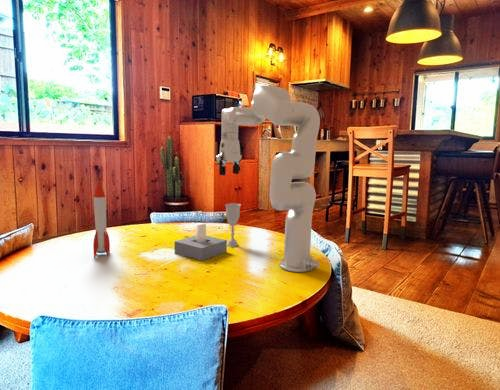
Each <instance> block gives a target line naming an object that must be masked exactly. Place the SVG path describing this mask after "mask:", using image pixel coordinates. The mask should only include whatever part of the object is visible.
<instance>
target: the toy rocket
mask: <svg viewBox="0 0 500 390" xmlns="http://www.w3.org/2000/svg"><path fill="white" fill-rule="evenodd" d="M93 212H94V224H95V225H94V226H95V234H94V238H93V245H92V246H93V258H95V257H96V256H97V254H106V256H107V257H109V253H110V252H111V250H110V249H111V247H110V245H111V243H110V242H111V241H110V236H109V233H108V231H107V198H106V194H105V191H104V188H103V185H102V182H101V179H98V180H97V183H96V186H95V192H94V196H93Z"/></svg>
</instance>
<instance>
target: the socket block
mask: <svg viewBox="0 0 500 390" xmlns="http://www.w3.org/2000/svg"><path fill="white" fill-rule="evenodd" d="M227 244H228V240H227V239H223V238H219V237H216V236H215V237H214V236H210V235H206V242H205V243H202V244H201V243H197V242H196V234H195V235H193V236H189V237H185V238H181V239H178V240H175V241H174V254H176V255H180V256H183V257H187V258H190V259H194V260H197V261H202V262H203V261H205V260H208V259H211V258H214V257H216V256H219V255H221V254H222V255H223V254H224V253H227V251H228V250H227V249H228V248H227V247H228V246H227Z"/></svg>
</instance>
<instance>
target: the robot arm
mask: <svg viewBox="0 0 500 390" xmlns="http://www.w3.org/2000/svg"><path fill="white" fill-rule="evenodd" d="M291 98H292V97H291V95H290V93H289V91H288V90H287V89H285V88H282V87H279V86H270V85H261V86H260V85H259V87H257V88H256V89H255V90H254V92H253V96H252V101H251V104H250V105H251V106H250V107H242V106H232V107H228V108H227V107H226V108H223V109H222V110H221V131H220V132H221V134H220V135H221V136H220V137H221V140H220V144H219V154H217V155H216V156H215V158H216V159H215V160H216V163H217V165H218V167H219V169H218V171H219V176H226V164H227V163H232V164H233V165H232V174H234V175H239V174H240V165H241V162H242V157H243V155H242V154H241V146H240V140H239V126H256V125H258V124H261V123H263V122H265V121H266V119H267V120H268V121H269V122H270V123H272V124H273V125H275V126H284V127H285V126H286V127H297V129H296V130H295V132H294V134H293V136H292V140H291V150H290V151H282V152H280V153H278V154H276V155H275V156H274V158H273V160H272V162H271V167H270V180H269V201H270V204H271V207H272V208H273V209H275V210H276V211H287V212H286V216H285V222H284V251H283V259H282V260H280V261H279V267H280V268H282V269H283V270H284V271H288V272H292V273H306V272H309V271H312V270H313V269H314V268H316V269H318V268H320V261H319V260H314V258H313V254H311V243H312V226H313V225H312V221H313V210H314V207H315V203H316V198H317V195H316V190H315V187H314V185H312V184H311V183H308V182H306V181H293V180H301V179H307V178H310V177H311V176H312V175H313V173H314V170H315V163H316V150H317V141H318V140H317V139H318V135H319V130H320V125H321V123H320V122H321V119H320V118H321V117H320V114H319V111H318V109H317V108H316V107H314V105H312V104H310V103H306V102H303V101H302V102H301V101H300V102H299V101H293V100H292V101H291ZM292 181H293V182H292Z"/></svg>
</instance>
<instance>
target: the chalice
mask: <svg viewBox="0 0 500 390" xmlns="http://www.w3.org/2000/svg"><path fill="white" fill-rule="evenodd" d="M241 205H242V204H241V203H226V204H224V206H225V208H226V209H225V216H226V221H227V223H228V225H229V226H231V229H230V231H231V232H230V236H231V237H230V239H228V240H227V247H234V248H235V247H238V246H239V244H238V241H237V239H235V238H234V237H235V226H237V224H238V221H239V218H240V216H241V215H240V213H241V210H240V209H241Z"/></svg>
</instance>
